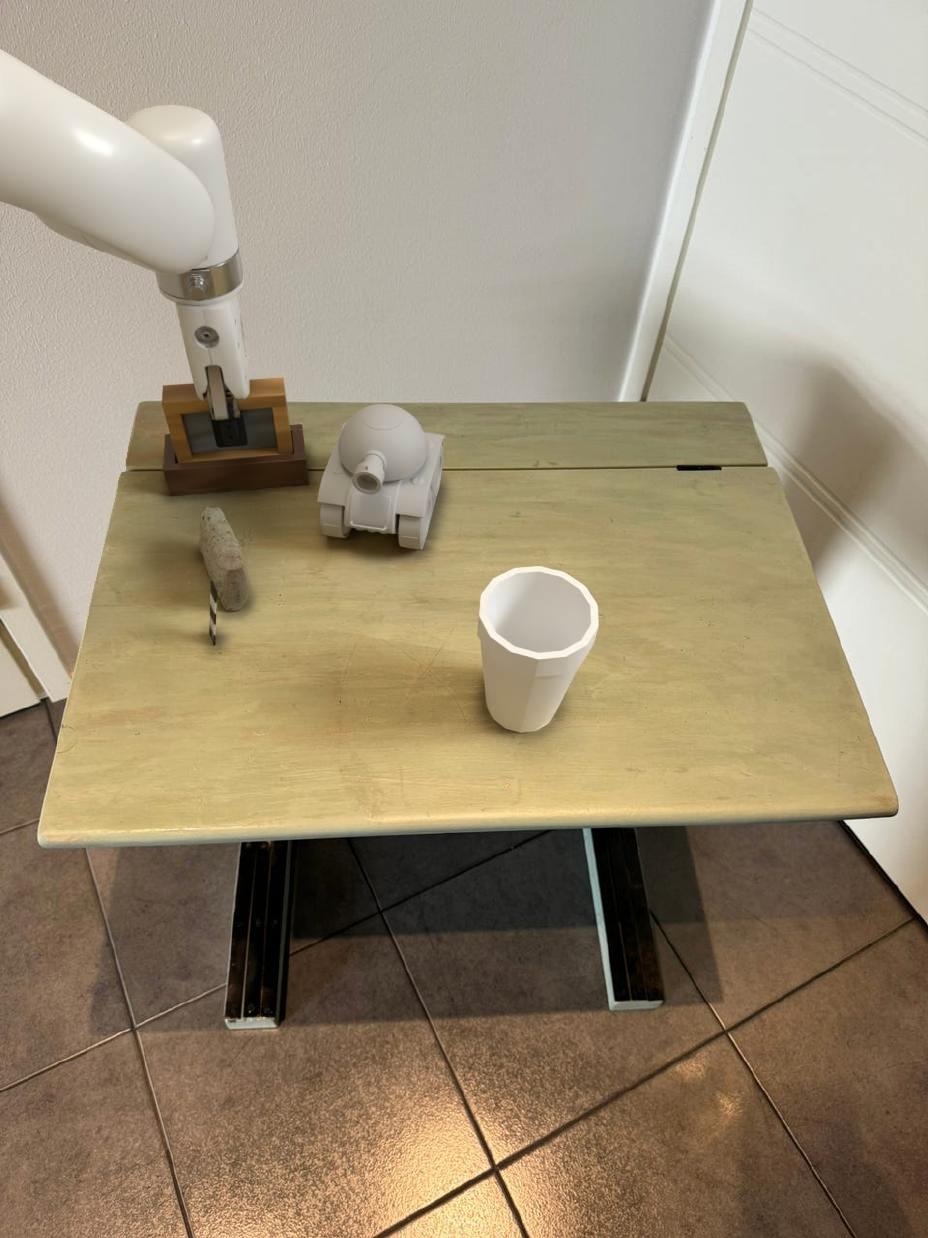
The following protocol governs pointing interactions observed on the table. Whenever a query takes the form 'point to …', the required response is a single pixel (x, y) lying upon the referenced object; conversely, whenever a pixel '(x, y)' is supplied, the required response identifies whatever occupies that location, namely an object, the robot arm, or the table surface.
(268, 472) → the holder
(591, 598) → the foam cup
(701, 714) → the table surface
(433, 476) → the toy tank
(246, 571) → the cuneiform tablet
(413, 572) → the table surface
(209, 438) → the frame
